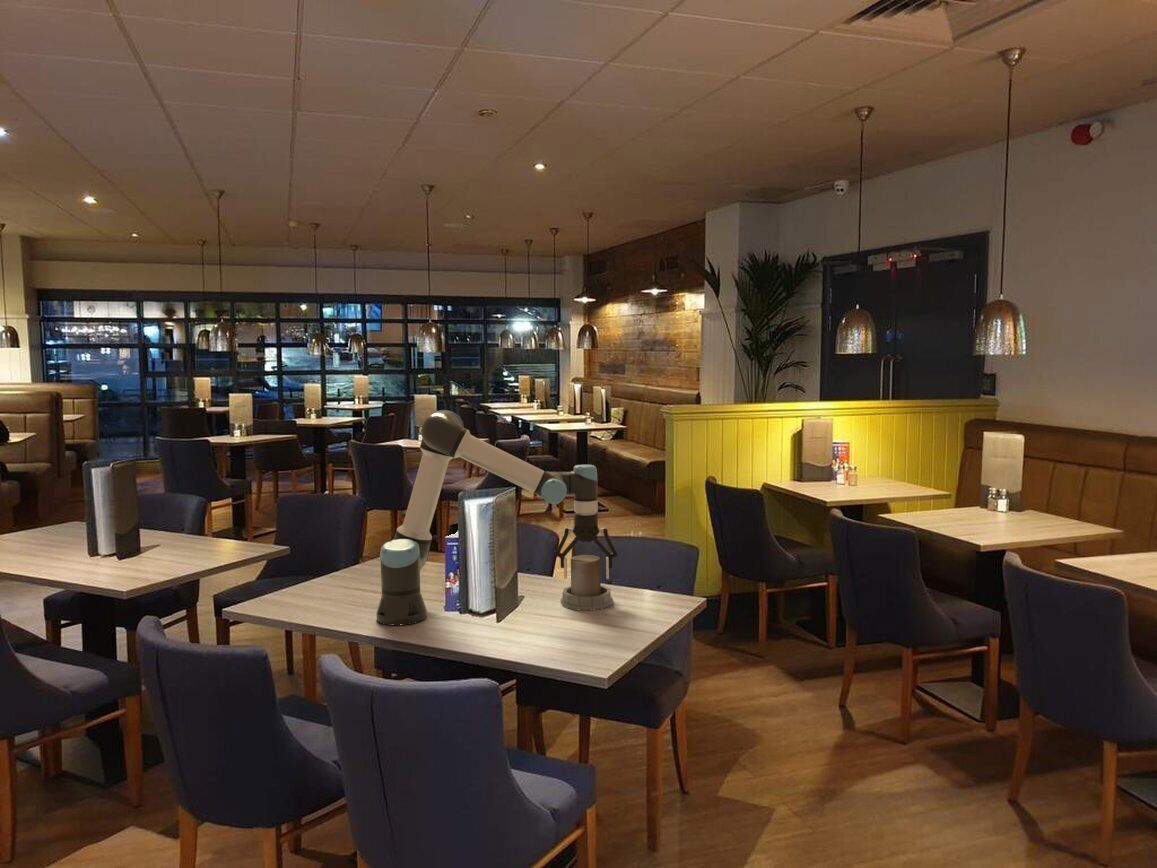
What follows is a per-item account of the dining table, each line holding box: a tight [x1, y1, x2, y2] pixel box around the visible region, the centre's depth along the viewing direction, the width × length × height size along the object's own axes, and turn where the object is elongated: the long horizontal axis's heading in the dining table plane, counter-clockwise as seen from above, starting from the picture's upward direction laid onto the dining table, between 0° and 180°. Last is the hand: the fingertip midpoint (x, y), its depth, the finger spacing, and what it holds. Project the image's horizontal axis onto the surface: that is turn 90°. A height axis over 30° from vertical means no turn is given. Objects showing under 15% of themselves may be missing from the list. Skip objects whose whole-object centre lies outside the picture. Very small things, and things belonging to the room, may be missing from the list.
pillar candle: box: [570, 554, 602, 596], centre depth 273 cm, size 10×10×15 cm
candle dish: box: [560, 585, 614, 611], centre depth 273 cm, size 17×17×4 cm
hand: (586, 577), depth 273 cm, fingers open, 13 cm apart
